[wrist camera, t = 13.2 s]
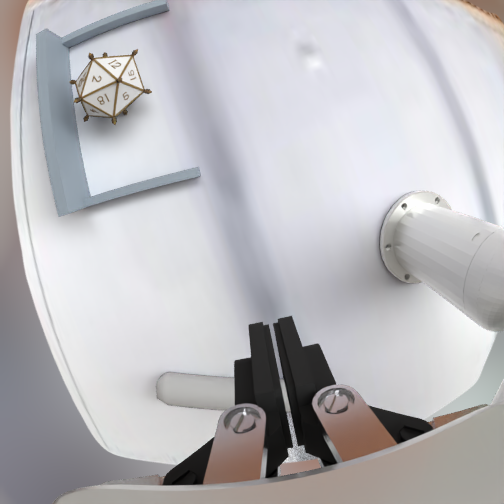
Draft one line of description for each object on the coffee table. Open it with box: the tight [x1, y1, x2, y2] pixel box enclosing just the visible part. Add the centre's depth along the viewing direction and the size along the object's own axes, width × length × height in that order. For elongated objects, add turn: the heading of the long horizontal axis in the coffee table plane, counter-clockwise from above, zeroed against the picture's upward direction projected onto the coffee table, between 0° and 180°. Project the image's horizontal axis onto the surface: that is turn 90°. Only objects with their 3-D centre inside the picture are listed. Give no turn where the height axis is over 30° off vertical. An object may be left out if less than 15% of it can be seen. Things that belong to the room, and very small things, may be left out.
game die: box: [69, 49, 152, 125], centre depth 26 cm, size 9×8×10 cm
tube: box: [156, 372, 291, 412], centre depth 40 cm, size 5×5×25 cm
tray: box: [36, 0, 201, 217], centre depth 28 cm, size 16×23×6 cm
